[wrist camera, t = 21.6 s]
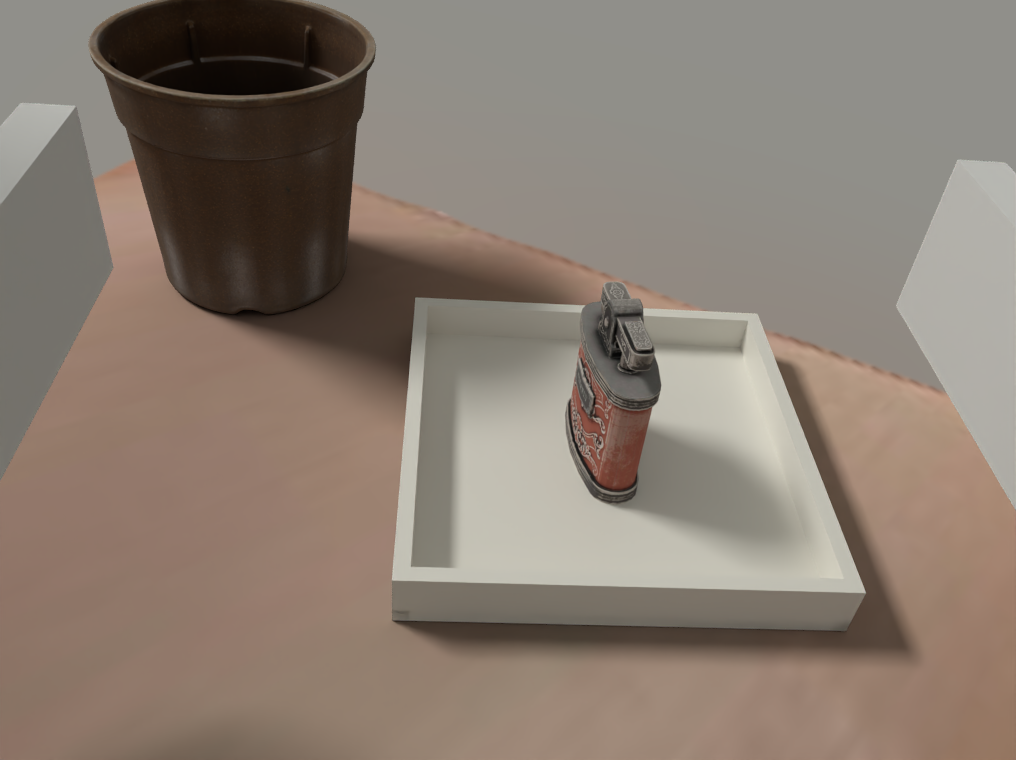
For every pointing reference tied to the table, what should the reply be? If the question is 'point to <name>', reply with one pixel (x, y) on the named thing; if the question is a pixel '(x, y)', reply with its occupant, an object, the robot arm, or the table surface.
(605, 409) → the lighter
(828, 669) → the table surface
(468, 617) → the tray
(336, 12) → the plant pot
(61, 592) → the table surface
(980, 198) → the robot arm
